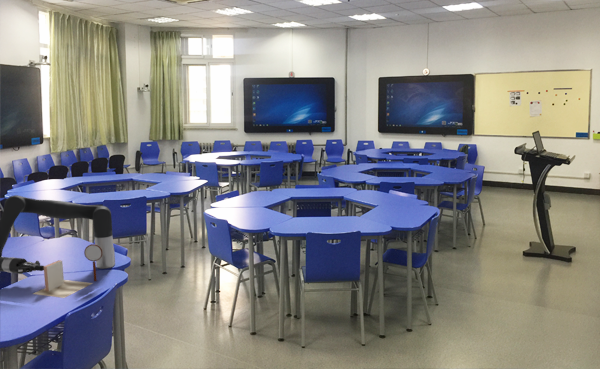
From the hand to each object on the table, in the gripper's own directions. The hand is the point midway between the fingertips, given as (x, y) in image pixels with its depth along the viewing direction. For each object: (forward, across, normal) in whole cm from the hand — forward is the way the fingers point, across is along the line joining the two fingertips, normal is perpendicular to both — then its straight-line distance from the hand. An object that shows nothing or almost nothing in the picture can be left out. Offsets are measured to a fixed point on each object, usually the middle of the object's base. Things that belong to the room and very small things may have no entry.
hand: (43, 268), depth 253 cm
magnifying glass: (+19, +13, +10) cm, 25 cm away
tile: (+6, 0, +9) cm, 11 cm away
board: (+11, 0, +10) cm, 15 cm away
